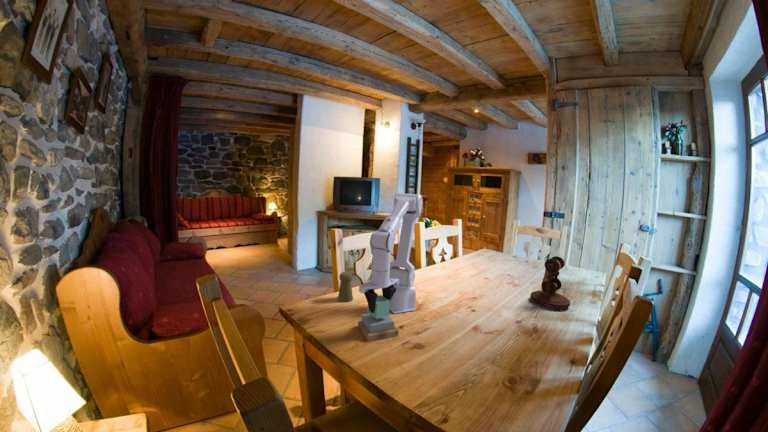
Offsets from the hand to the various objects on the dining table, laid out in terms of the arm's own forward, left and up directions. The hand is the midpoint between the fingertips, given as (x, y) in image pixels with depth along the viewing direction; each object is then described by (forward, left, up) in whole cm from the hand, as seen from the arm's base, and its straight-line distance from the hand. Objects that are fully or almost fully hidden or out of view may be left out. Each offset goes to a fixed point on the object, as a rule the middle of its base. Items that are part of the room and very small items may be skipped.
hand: (378, 309), depth 97 cm
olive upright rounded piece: (+3, -27, -7) cm, 28 cm away
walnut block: (0, 0, -8) cm, 8 cm away
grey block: (0, 0, -5) cm, 5 cm away
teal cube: (0, 0, -2) cm, 2 cm away
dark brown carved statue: (-78, +2, -8) cm, 78 cm away
